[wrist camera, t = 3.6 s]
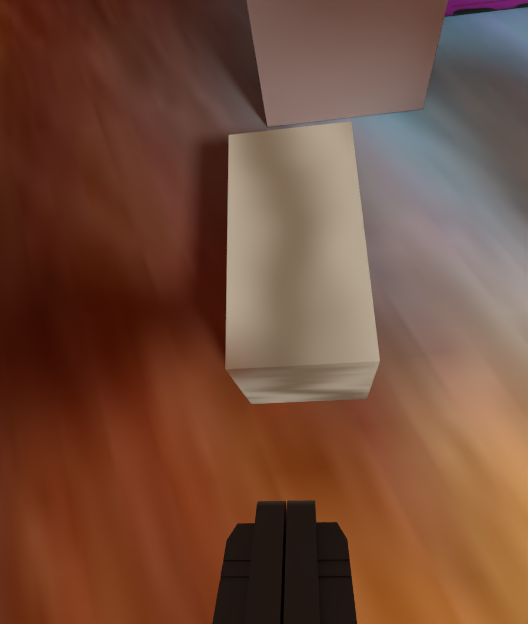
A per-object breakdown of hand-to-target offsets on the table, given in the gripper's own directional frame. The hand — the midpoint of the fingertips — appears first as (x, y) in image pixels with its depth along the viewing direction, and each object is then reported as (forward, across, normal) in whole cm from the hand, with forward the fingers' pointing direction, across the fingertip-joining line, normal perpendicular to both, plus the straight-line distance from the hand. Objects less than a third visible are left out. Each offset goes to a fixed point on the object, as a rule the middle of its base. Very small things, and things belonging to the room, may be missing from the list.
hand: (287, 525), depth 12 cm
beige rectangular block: (+20, 0, +1) cm, 20 cm away
